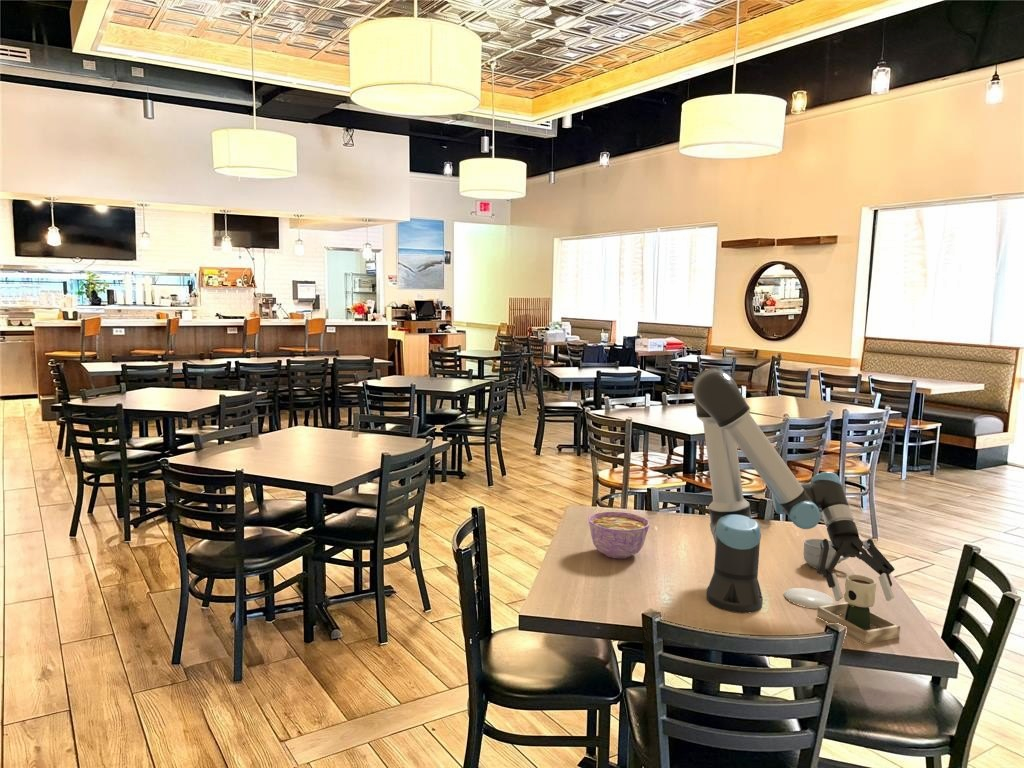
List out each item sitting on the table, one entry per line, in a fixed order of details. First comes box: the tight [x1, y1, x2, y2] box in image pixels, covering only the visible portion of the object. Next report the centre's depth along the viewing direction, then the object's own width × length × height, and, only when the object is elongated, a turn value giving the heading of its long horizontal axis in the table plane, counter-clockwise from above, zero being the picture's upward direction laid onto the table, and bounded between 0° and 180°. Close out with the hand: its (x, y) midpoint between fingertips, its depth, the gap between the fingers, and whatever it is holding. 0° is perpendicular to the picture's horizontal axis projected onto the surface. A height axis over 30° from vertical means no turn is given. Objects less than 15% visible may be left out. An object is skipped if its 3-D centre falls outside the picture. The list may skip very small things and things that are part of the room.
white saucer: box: [783, 587, 835, 610], centre depth 201 cm, size 13×13×1 cm
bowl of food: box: [588, 511, 650, 559], centre depth 232 cm, size 20×20×12 cm
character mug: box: [843, 573, 877, 630], centre depth 183 cm, size 11×7×13 cm, turn 0°
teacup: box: [803, 538, 850, 569], centre depth 226 cm, size 14×11×8 cm
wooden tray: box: [816, 601, 901, 644], centre depth 184 cm, size 12×16×3 cm
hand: (865, 599), depth 184 cm, fingers open, 13 cm apart
